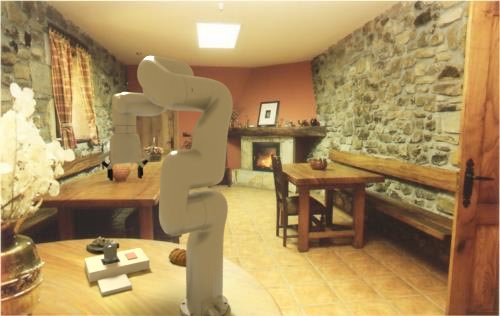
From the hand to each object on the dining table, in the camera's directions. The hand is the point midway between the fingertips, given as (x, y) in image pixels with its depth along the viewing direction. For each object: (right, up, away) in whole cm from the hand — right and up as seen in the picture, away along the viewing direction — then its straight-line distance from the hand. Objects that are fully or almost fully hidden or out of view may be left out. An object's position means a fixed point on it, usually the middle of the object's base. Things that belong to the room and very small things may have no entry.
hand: (125, 179), depth 112 cm
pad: (+4, -31, -18) cm, 36 cm away
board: (0, -29, -6) cm, 30 cm away
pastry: (+20, -29, +1) cm, 35 cm away
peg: (-2, -29, -7) cm, 30 cm away
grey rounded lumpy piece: (-13, -28, +10) cm, 32 cm away
